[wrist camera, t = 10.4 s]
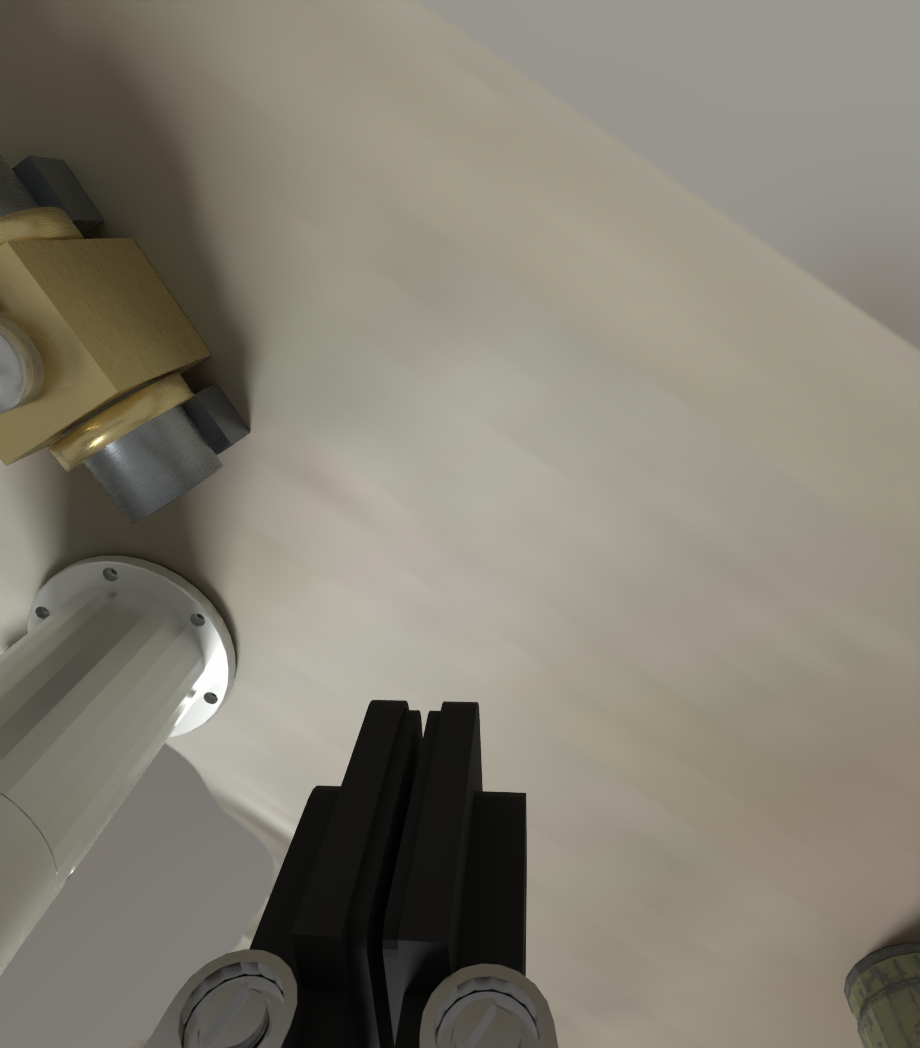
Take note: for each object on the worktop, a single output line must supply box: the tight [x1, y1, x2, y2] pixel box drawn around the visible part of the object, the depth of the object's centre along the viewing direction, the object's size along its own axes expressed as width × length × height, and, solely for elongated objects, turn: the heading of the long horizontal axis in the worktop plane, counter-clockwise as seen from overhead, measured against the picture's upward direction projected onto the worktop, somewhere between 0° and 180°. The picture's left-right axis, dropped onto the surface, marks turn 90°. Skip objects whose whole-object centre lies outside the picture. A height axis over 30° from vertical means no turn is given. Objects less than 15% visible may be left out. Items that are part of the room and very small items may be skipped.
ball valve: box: [0, 153, 250, 524], centre depth 32 cm, size 7×16×9 cm, turn 30°
